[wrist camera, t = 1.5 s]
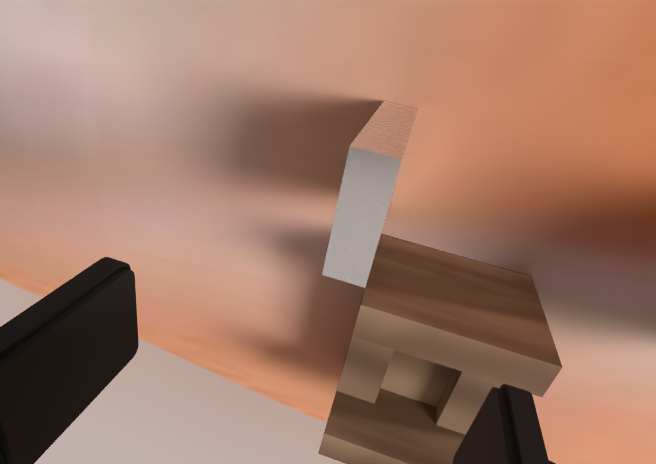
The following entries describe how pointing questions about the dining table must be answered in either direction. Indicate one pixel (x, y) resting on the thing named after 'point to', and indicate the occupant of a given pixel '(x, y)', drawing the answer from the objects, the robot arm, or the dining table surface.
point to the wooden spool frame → (433, 355)
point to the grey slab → (367, 192)
